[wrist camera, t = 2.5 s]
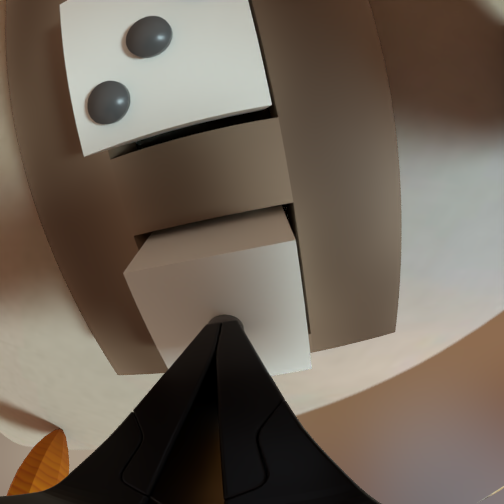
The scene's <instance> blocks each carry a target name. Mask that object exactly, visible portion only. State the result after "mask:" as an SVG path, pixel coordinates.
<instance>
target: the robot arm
mask: <svg viewBox="0 0 504 504" xmlns="http://www.w3.org/2000/svg"><path fill="white" fill-rule="evenodd" d="M133 411H134V412H131V413H130V414H129V415H128V417H127V418H126V419H125V420H124V421H123V422H122V424H121V425H120V426H119V427H118V428H117V429H116V430H115V431H114V432H113V433H112V434H111V436H110V437H109V438H108V439H107V440H106V441H104V442H103V443H102V444H101V445H100V446H99V447H98V448H97V449H96V450H95V451H94V452H93V453H92V454H91V455H90V456H89V457H88V458H87V459H85V461H83V462H82V463H81V464H80V465H79V466H78V467H77V468H75V469H74V470H73V471H72V472H71V473H70V474H69V475H68V476H67V477H65V478H64V479H63V480H62V481H61V482H59V483H58V484H56V485H55V486H53V487H51V488H49V489H46V490H43V491H39V492H34V493H27V494H20V495H11V496H1V497H0V504H381V503H379V502H378V501H376V500H375V499H374V498H372V497H371V496H370V495H368V494H367V493H366V492H365V491H364V490H362V489H361V488H360V487H359V486H358V485H357V484H356V483H355V482H353V480H352V479H351V478H349V476H347V475H346V474H345V473H344V471H343V470H342V469H341V468H340V467H339V466H338V465H337V464H336V463H335V462H334V461H333V460H332V459H331V458H330V457H329V456H328V455H327V454H326V453H325V452H324V451H323V450H322V449H321V448H320V447H319V445H318V444H317V443H316V442H315V441H314V440H313V439H312V437H311V436H310V435H309V434H308V432H307V431H306V430H305V429H304V428H303V426H302V425H301V423H300V422H299V420H298V419H297V417H296V416H295V414H294V413H293V411H292V410H291V408H290V407H289V405H288V403H287V402H286V401H285V399H284V397H283V396H282V394H281V392H280V391H279V389H278V387H277V386H276V384H275V382H274V381H273V379H272V377H271V376H270V374H269V372H268V371H267V369H266V367H265V366H264V364H263V362H262V361H261V359H260V357H259V356H258V354H257V352H256V350H255V349H254V347H253V345H252V344H251V342H250V340H249V338H248V337H247V335H246V333H245V331H244V330H243V328H242V326H241V324H240V323H239V321H238V320H229V321H224V322H223V323H221V322H217V323H210V324H206V325H205V326H204V328H203V329H202V330H201V331H200V332H199V333H198V335H197V336H196V337H195V338H194V339H193V341H192V342H191V343H190V344H189V345H188V347H187V348H186V349H185V350H184V351H183V352H182V354H181V355H180V356H179V357H178V358H177V360H176V361H175V362H174V363H173V364H172V365H171V367H170V368H169V369H168V370H167V371H166V372H165V374H164V375H163V376H162V377H161V378H160V380H159V381H158V382H157V383H156V384H155V385H154V387H153V388H152V389H151V390H150V391H149V392H148V394H147V395H146V396H145V397H144V398H143V399H142V401H141V402H140V403H139V404H138V405H137V406H136V408H135V409H134V410H133Z"/></svg>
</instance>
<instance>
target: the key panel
mask: <svg viewBox="0 0 504 504" xmlns="http://www.w3.org/2000/svg"><path fill="white" fill-rule="evenodd" d="M65 1H67V0H6V26H5V34H6V61H7V74H8V84H9V92H10V100H11V107H12V113H13V119H14V125H15V130H16V135H17V140H18V144H19V149H20V153H21V157H22V161H23V165H24V169H25V173H26V176H27V180H28V183H29V187H30V190H31V193H32V197H33V200H34V203H35V206H36V209H37V212H38V215H39V218H40V221H41V223H42V226H43V229H44V231H45V234H46V237H47V239H48V242H49V244H50V247H51V249H52V252H53V254H54V257H55V259H56V261H57V264H58V266H59V268H60V271H61V273H62V275H63V277H64V279H65V281H66V284H67V286H68V288H69V290H70V292H71V294H72V296H73V298H74V300H75V302H76V304H77V306H78V308H79V310H80V312H81V314H82V316H83V317H84V319H85V321H86V323H87V325H88V327H89V328H90V330H91V332H92V334H93V336H94V337H95V339H96V341H97V342H98V344H99V346H100V348H101V349H102V351H103V353H104V354H105V356H106V357H107V359H108V361H109V362H110V364H111V365H112V367H113V368H114V370H115V372H116V373H117V375H135V374H154V373H165V372H166V371H167V370H168V368H167V366H166V364H165V362H164V360H163V358H162V356H161V354H160V352H159V351H158V349H157V347H156V345H155V343H154V341H153V339H152V337H151V334H150V332H149V330H148V328H147V326H146V324H145V322H144V320H143V318H142V316H141V313H140V311H139V309H138V307H137V305H136V302H135V300H134V298H133V296H132V293H131V291H130V289H129V286H128V284H127V281H126V279H125V277H124V274H123V273H124V271H125V270H126V268H127V267H128V265H129V264H130V263H131V261H132V260H133V258H134V257H135V255H136V254H137V253H138V251H139V250H140V248H141V247H142V246H143V244H144V243H145V242H146V240H147V239H148V238H149V236H150V235H151V233H152V232H153V231H156V230H161V229H165V228H170V227H174V226H179V225H183V224H188V223H192V222H197V221H201V220H206V219H211V218H216V217H221V216H225V215H230V214H235V213H240V212H245V211H250V210H255V209H261V208H266V207H271V206H276V205H282V204H286V205H287V211H288V217H289V223H290V227H291V230H292V232H293V235H294V237H295V240H296V245H297V252H298V259H299V266H300V273H301V281H302V288H303V296H304V304H305V312H306V320H307V328H308V337H309V346H310V353H312V352H317V351H321V350H326V349H330V348H335V347H339V346H344V345H348V344H352V343H356V342H360V341H364V340H368V339H372V338H375V337H379V336H383V335H386V334H390V333H394V332H395V328H396V320H397V310H398V298H399V285H400V267H401V188H400V171H399V157H398V146H397V137H396V128H395V120H394V113H393V106H392V99H391V93H390V87H389V82H388V76H387V71H386V66H385V61H384V57H383V52H382V48H381V44H380V40H379V36H378V32H377V28H376V24H375V21H374V17H373V14H372V10H371V7H370V4H369V0H248V2H249V6H250V10H251V14H252V18H253V22H254V26H255V31H256V35H257V39H258V43H259V48H260V52H261V56H262V61H263V65H264V70H265V74H266V79H267V84H268V88H269V93H270V98H271V103H272V105H271V106H269V107H268V108H269V113H270V118H268V119H263V120H257V121H252V122H246V123H241V124H236V125H232V126H227V127H222V128H218V129H213V130H209V131H205V132H201V133H197V134H193V135H189V136H185V137H181V138H177V139H174V140H170V141H167V142H163V143H160V144H156V145H153V146H149V147H146V148H143V149H140V150H137V147H136V143H135V142H134V143H131V144H127V145H123V146H119V147H116V148H112V149H109V150H105V151H102V152H98V153H95V154H92V155H88V156H85V157H84V155H83V151H82V147H81V143H80V139H79V135H78V130H77V126H76V121H75V117H74V112H73V107H72V102H71V97H70V91H69V85H68V79H67V73H66V66H65V59H64V50H63V42H62V31H61V18H60V4H62V3H63V2H65Z"/></svg>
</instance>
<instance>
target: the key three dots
mask: <svg viewBox="0 0 504 504" xmlns="http://www.w3.org/2000/svg"><path fill="white" fill-rule="evenodd" d="M60 18H61V31H62V42H63V50H64V59H65V66H66V73H67V79H68V85H69V91H70V97H71V102H72V107H73V112H74V117H75V121H76V126H77V130H78V135H79V139H80V143H81V147H82V151H83V155H84V157H85V156H88V155H92V154H95V153H98V152H102V151H105V150H109V149H112V148H116V147H119V146H123V145H127V144H131V143H134V142H137V141H140V140H143V139H146V138H150V137H153V136H156V135H160V134H163V133H166V132H170V131H173V130H177V129H181V128H185V127H188V126H192V125H196V124H200V123H204V122H208V121H213V120H217V119H222V118H226V117H231V116H236V115H241V114H246V113H251V112H256V111H262V110H264V109H266V108H268V107H269V106H271V105H272V103H271V98H270V93H269V88H268V84H267V79H266V74H265V70H264V65H263V61H262V56H261V52H260V48H259V43H258V39H257V35H256V31H255V26H254V22H253V18H252V14H251V10H250V6H249V2H248V0H67V1H65V2H63V3H62V4H60Z"/></svg>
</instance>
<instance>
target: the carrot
mask: <svg viewBox="0 0 504 504" xmlns="http://www.w3.org/2000/svg"><path fill="white" fill-rule="evenodd" d="M68 475H69V455H68V447H67V441H66V436H65V434H64V432H63V430H62V429H58V430H54V431H53V432H51V433H50V434H48V435H47V436H45V437H44V438H43V439H42V440H41V441H40V442H38V443H37V444H36V445H35V446H34V448H33V449H32V450H31V452H30V453H29V454H28V456H27V457H26V458H25V460H24V461H23V463H22V464H21V466H20V467H19V469H18V471H17V473H16V475H15V477H14V479H13V481H12V484H11V486H10V488H9V491H8V494H7V496H11V495H20V494H27V493H34V492H39V491H43V490H46V489H49V488H51V487H53V486H55V485H56V484H58V483H59V482H61V481H62V480H63V479H64V478H65V477H67V476H68Z"/></svg>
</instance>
